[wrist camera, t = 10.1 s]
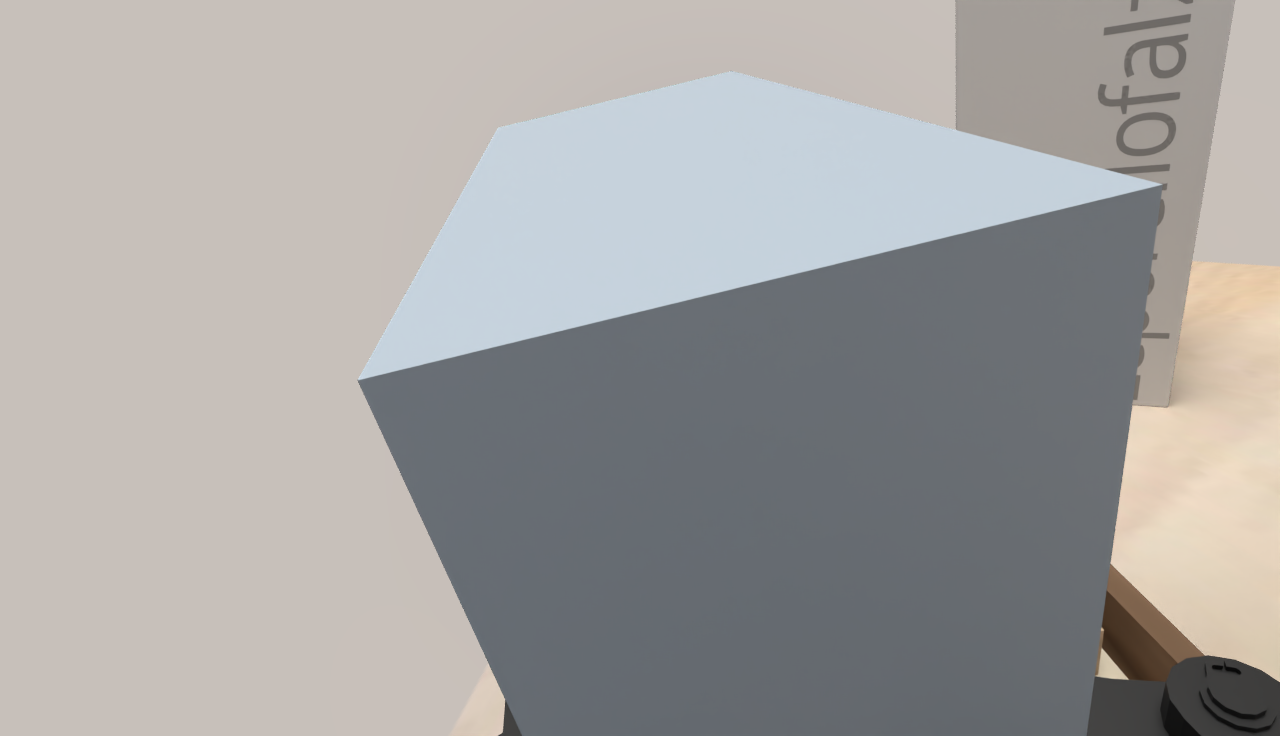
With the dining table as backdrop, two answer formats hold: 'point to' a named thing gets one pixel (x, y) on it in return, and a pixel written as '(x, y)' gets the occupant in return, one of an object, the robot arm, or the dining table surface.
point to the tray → (1140, 634)
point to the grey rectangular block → (774, 416)
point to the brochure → (1108, 115)
